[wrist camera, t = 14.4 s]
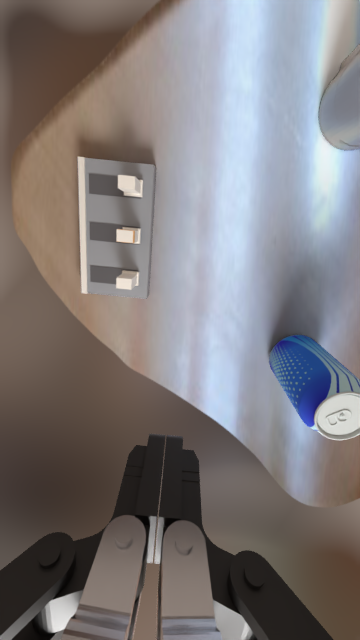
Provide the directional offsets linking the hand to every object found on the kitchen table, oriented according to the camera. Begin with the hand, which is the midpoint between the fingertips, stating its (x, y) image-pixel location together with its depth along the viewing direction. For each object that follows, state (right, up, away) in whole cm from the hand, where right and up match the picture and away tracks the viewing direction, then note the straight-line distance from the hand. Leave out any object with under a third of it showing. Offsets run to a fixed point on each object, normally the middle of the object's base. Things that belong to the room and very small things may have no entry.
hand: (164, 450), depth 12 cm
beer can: (+20, 0, +34) cm, 39 cm away
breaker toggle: (-6, +18, +25) cm, 31 cm away
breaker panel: (-8, +19, +28) cm, 34 cm away
